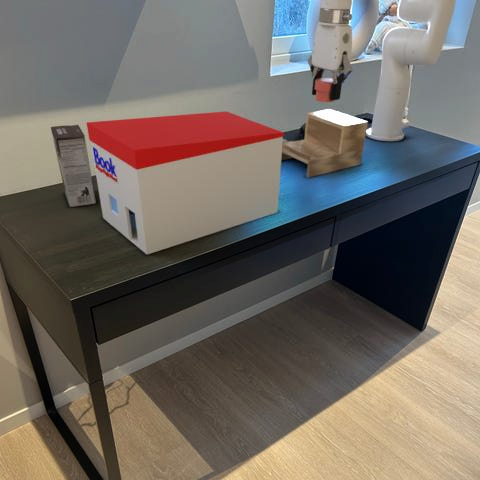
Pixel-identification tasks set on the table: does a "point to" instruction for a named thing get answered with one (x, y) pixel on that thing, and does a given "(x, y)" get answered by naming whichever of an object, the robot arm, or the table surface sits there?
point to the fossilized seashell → (303, 129)
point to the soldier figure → (284, 140)
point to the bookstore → (184, 175)
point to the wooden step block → (328, 142)
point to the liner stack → (323, 89)
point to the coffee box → (74, 164)
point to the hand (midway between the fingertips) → (325, 96)
